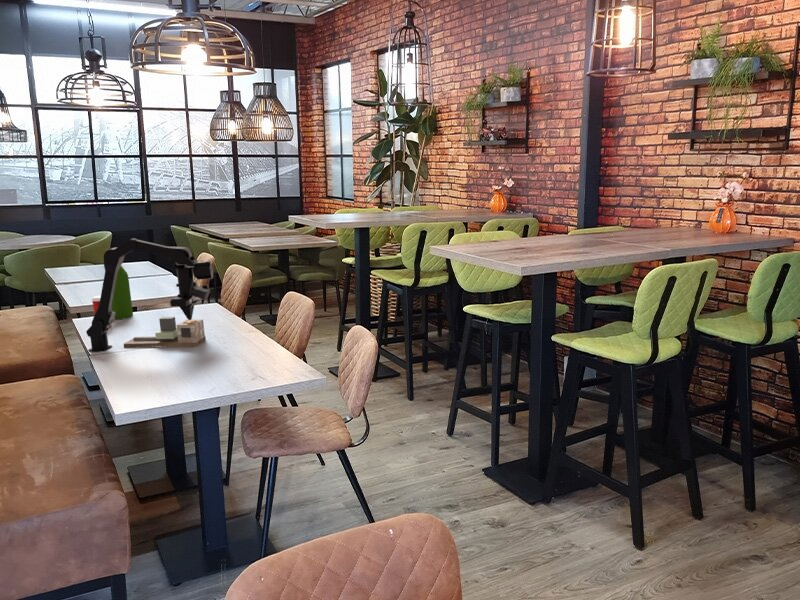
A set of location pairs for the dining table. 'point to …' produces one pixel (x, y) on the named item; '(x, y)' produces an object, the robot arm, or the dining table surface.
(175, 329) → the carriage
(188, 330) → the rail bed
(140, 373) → the dining table surface
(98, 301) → the paper cup
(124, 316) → the wine bottle
